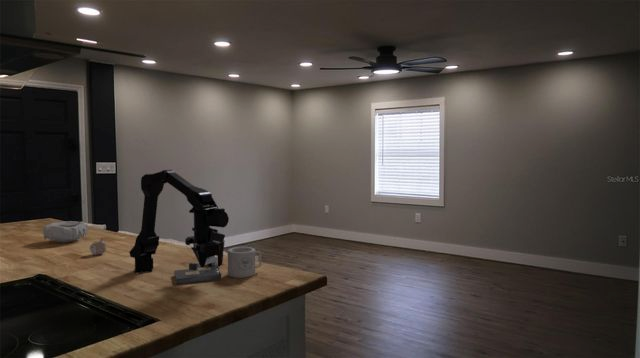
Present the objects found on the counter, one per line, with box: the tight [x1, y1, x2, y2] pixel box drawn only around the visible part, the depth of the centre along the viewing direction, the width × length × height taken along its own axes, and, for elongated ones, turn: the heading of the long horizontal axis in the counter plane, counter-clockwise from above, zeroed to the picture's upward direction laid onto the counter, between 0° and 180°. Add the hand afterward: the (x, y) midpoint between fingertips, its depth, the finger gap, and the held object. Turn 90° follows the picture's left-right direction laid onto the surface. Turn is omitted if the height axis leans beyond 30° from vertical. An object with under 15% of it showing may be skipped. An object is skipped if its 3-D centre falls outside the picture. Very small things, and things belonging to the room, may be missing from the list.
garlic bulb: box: [89, 238, 107, 256], centre depth 205 cm, size 7×6×8 cm
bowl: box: [42, 220, 88, 243], centre depth 233 cm, size 21×20×10 cm
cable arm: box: [188, 255, 219, 270], centre depth 174 cm, size 16×3×5 cm, turn 158°
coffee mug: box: [206, 240, 226, 267], centre depth 189 cm, size 12×9×10 cm
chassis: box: [173, 266, 222, 285], centre depth 169 cm, size 16×12×2 cm
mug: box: [226, 246, 262, 279], centre depth 174 cm, size 14×11×10 cm
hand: (202, 266), depth 164 cm, fingers closed
